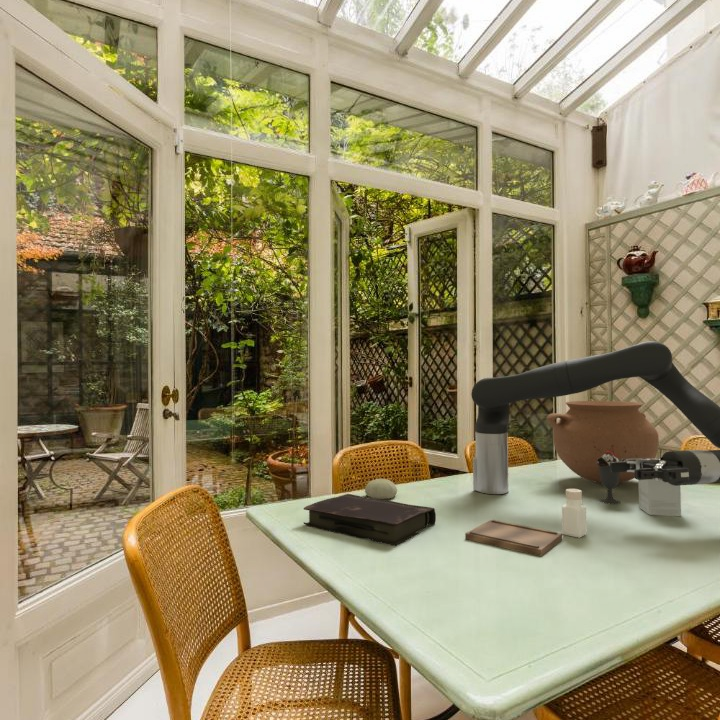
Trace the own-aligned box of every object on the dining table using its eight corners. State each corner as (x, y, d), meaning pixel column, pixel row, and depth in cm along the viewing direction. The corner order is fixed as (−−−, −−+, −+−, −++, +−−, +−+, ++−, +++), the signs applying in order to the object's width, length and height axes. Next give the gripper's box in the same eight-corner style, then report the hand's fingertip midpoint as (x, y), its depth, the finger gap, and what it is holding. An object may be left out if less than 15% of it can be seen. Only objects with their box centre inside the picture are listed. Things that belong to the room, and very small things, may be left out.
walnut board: (465, 538, 107) (465, 531, 107) (490, 525, 116) (490, 518, 116) (541, 556, 96) (541, 548, 96) (562, 539, 106) (561, 532, 106)
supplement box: (682, 516, 121) (681, 463, 122) (648, 515, 123) (647, 463, 123) (669, 508, 129) (668, 458, 129) (638, 507, 130) (637, 457, 130)
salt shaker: (569, 530, 112) (568, 487, 112) (587, 534, 109) (586, 490, 109) (561, 534, 109) (560, 490, 109) (580, 539, 106) (579, 493, 106)
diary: (349, 511, 131) (349, 491, 132) (436, 527, 117) (435, 505, 117) (300, 528, 116) (301, 506, 116) (393, 549, 102) (393, 524, 102)
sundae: (621, 499, 138) (620, 444, 138) (625, 505, 131) (624, 447, 132) (595, 497, 140) (594, 443, 140) (598, 503, 134) (596, 446, 134)
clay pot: (589, 498, 139) (587, 407, 140) (528, 476, 168) (527, 401, 169) (691, 490, 147) (689, 404, 148) (616, 471, 176) (615, 399, 177)
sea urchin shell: (403, 487, 147) (395, 471, 142) (396, 511, 141) (388, 495, 136) (374, 484, 150) (366, 468, 145) (366, 508, 145) (358, 492, 140)
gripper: (665, 446, 120) (602, 448, 118) (715, 455, 106) (644, 458, 103) (667, 478, 119) (603, 481, 117) (717, 491, 105) (645, 495, 103)
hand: (622, 470), depth 110 cm, fingers open, 8 cm apart
